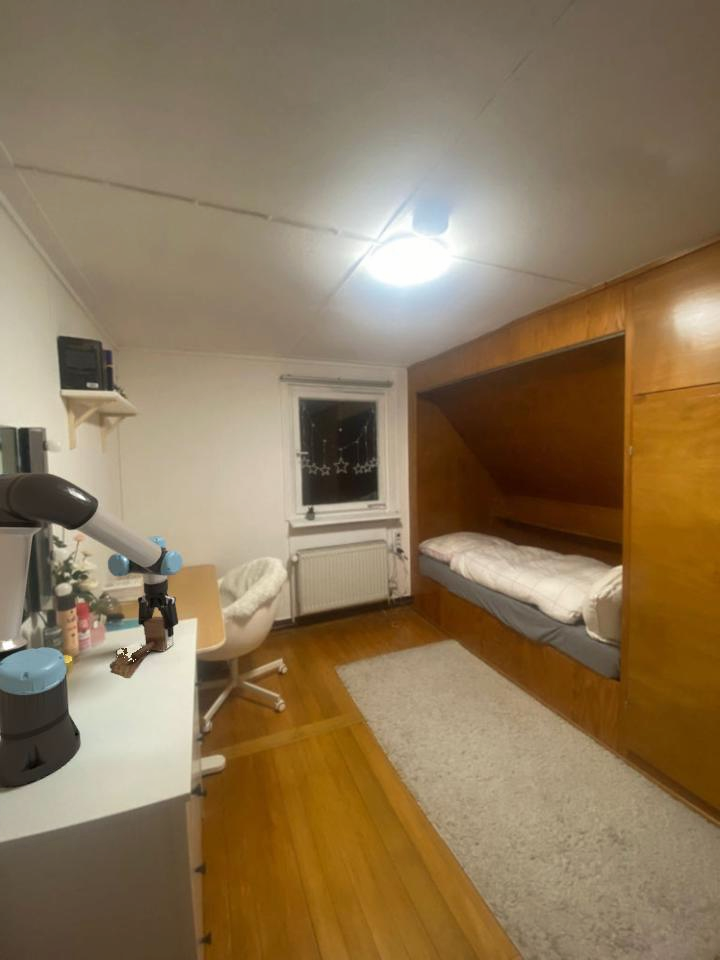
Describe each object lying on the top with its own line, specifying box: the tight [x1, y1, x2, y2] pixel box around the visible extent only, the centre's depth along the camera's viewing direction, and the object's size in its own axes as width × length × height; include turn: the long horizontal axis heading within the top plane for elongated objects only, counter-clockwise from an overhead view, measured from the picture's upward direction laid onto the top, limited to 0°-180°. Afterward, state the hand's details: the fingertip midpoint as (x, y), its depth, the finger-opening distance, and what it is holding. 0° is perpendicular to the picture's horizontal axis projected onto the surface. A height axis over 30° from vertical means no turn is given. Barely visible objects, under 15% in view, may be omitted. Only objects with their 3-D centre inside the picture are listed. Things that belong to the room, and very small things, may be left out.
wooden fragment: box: [109, 647, 149, 679], centre depth 129 cm, size 26×11×1 cm, turn 24°
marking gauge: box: [131, 616, 174, 659], centre depth 132 cm, size 14×7×10 cm, turn 168°
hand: (159, 644), depth 136 cm, fingers closed on marking gauge, 7 cm apart
